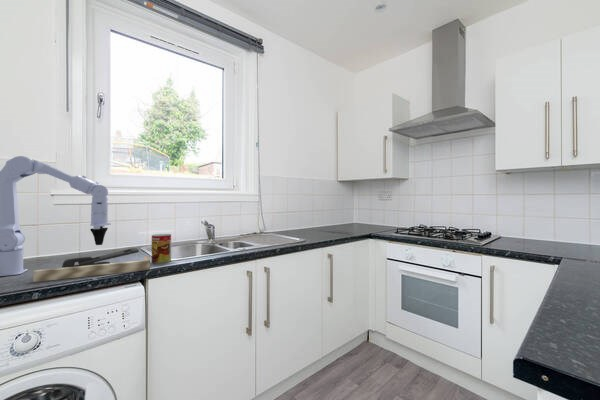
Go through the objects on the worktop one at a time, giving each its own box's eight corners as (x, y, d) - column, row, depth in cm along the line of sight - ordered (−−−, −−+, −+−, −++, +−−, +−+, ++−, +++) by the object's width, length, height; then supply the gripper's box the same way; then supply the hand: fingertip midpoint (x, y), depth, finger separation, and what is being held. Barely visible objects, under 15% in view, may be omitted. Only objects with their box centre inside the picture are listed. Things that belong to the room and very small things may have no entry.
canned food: (149, 261, 124) (149, 234, 124) (168, 258, 129) (168, 233, 129) (154, 263, 118) (154, 236, 118) (173, 261, 123) (173, 234, 123)
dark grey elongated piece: (140, 249, 116) (63, 258, 98) (140, 265, 116) (63, 276, 98) (134, 247, 122) (60, 255, 104) (134, 262, 122) (60, 272, 104)
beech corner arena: (33, 282, 91) (33, 271, 91) (46, 273, 102) (46, 264, 102) (150, 269, 107) (150, 260, 107) (149, 263, 119) (149, 255, 119)
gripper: (108, 213, 113) (108, 246, 113) (112, 212, 125) (112, 242, 125) (87, 213, 109) (86, 247, 109) (93, 212, 122) (93, 243, 122)
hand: (99, 244), depth 117 cm, fingers closed
